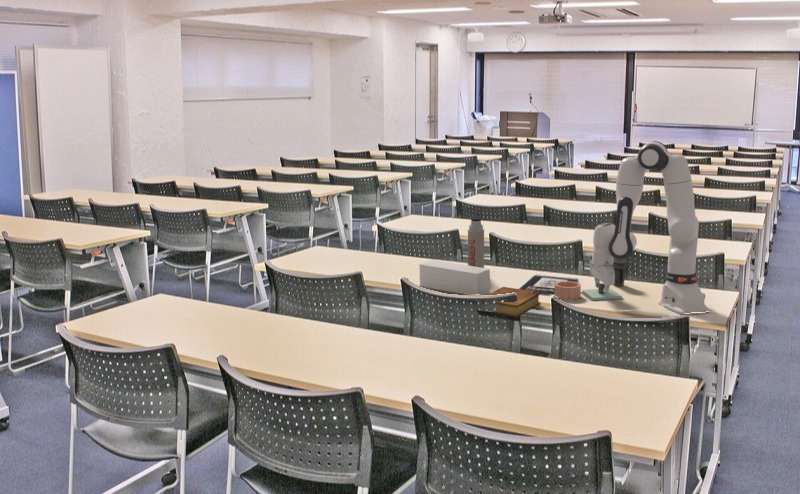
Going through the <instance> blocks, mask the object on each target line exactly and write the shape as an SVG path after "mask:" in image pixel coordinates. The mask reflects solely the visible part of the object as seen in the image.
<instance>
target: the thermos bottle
mask: <svg viewBox="0 0 800 494" xmlns="http://www.w3.org/2000/svg"><path fill="white" fill-rule="evenodd" d="M470 220H471V222H470V224H469V226H468V229H467V265H468V266H474V267H481V268H485V229H484V225H483V223H482V222H481V221H482V218H480V217H472V218H471V219H470Z"/></svg>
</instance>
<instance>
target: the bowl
mask: <svg viewBox="0 0 800 494" xmlns="http://www.w3.org/2000/svg"><path fill="white" fill-rule="evenodd" d="M581 290H582V285H581V283H579V282H571V281H561V282H557V283H555V292H554V295H553V296H554V297H555V296H557V297H559V298H561V299H560V300H563V301H564V300H565V301H573V300H574V301H575V300H579V299H580V298H581V295H582V294H581V292H582V291H581Z"/></svg>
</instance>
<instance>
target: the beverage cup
mask: <svg viewBox="0 0 800 494" xmlns="http://www.w3.org/2000/svg"><path fill="white" fill-rule="evenodd" d="M628 264H629V263H628V258H627V259H624V260H618V259H615V258H614V257H613V264H612V267H613V268H614V271H615V283H614V285H613V286H614V287H624V284H625V279H626V278H625V277H626V271H627V266H628Z"/></svg>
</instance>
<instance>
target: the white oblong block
mask: <svg viewBox="0 0 800 494" xmlns="http://www.w3.org/2000/svg"><path fill="white" fill-rule="evenodd" d="M418 267H419V286H420V285H421V286H420V287H423V286H425V287H424V288H428V287H430V288H429V289H433V290H434V289H435V290H438V291H439V290H441V291H443V292H444V291H446V292H451V293H456V294H461V293H466V294H482V295H484V294H487V293H489V292H491V291H490V289H491V278H490V277H491V272H490V271H491V268H486V267H484V268H481V267H474V266H468V264H460V263H453V262H450V261H449V262H448V261H443V260H436V259H435V260H434V259H432V260H428V261H424V262H422V263H420V264H419V266H418ZM486 292H487V293H486ZM483 293H484V294H483ZM466 294H465V295H466Z"/></svg>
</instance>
